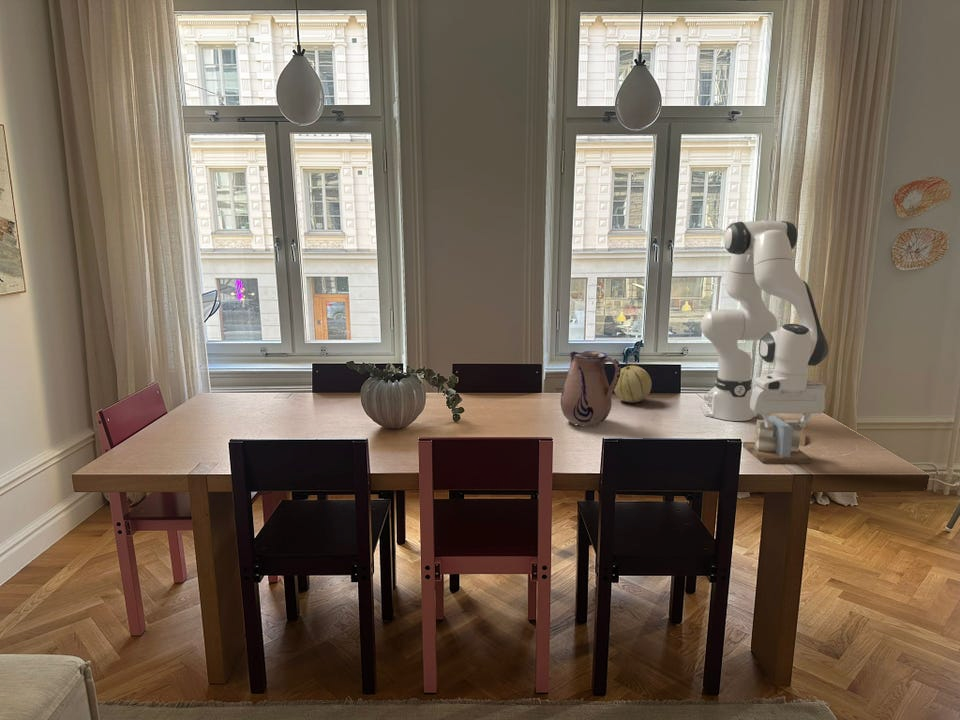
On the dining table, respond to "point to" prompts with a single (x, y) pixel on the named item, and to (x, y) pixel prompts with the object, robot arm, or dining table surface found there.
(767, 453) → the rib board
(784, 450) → the slotted plate
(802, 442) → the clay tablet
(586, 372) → the ceramic pitcher
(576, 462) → the dining table surface
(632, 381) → the cantaloupe
